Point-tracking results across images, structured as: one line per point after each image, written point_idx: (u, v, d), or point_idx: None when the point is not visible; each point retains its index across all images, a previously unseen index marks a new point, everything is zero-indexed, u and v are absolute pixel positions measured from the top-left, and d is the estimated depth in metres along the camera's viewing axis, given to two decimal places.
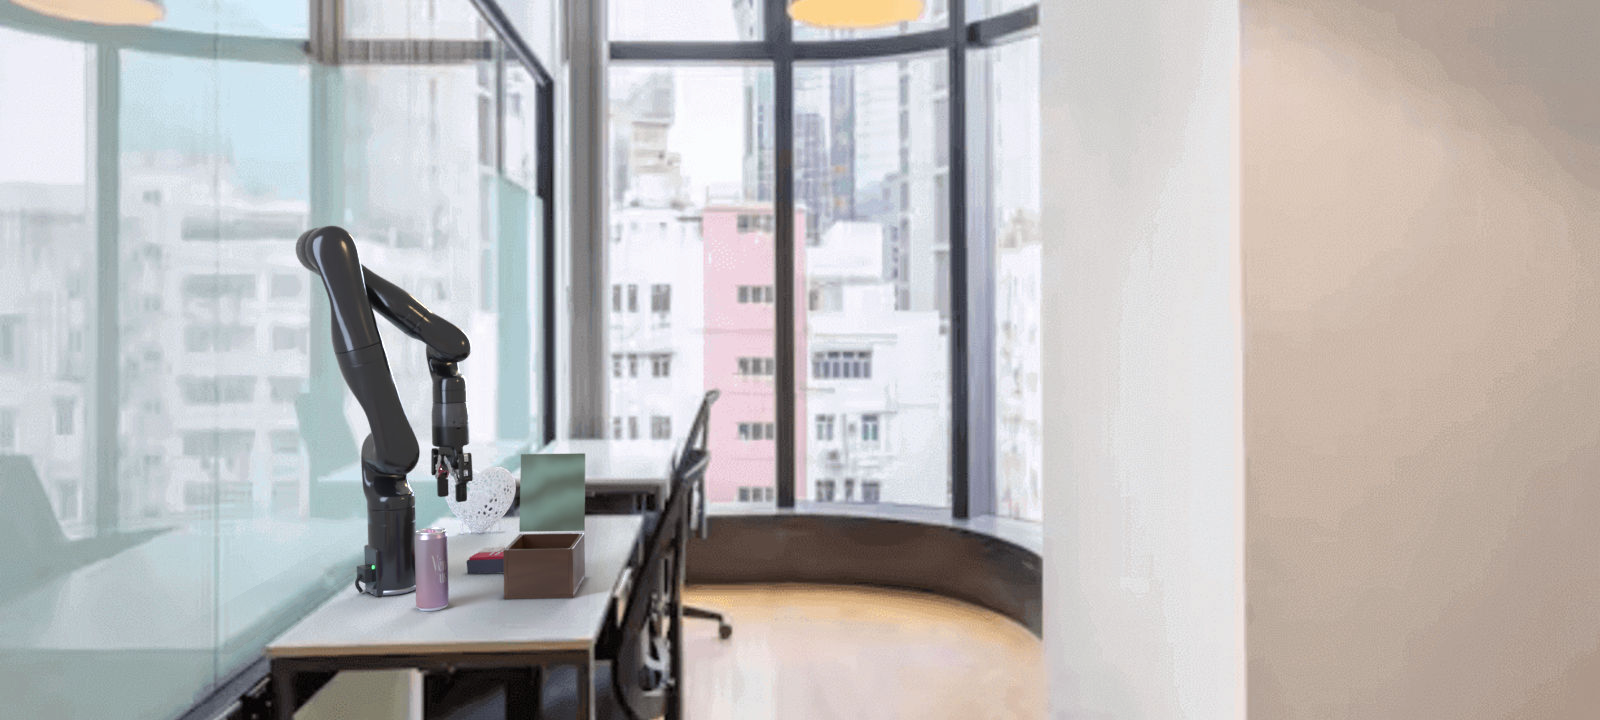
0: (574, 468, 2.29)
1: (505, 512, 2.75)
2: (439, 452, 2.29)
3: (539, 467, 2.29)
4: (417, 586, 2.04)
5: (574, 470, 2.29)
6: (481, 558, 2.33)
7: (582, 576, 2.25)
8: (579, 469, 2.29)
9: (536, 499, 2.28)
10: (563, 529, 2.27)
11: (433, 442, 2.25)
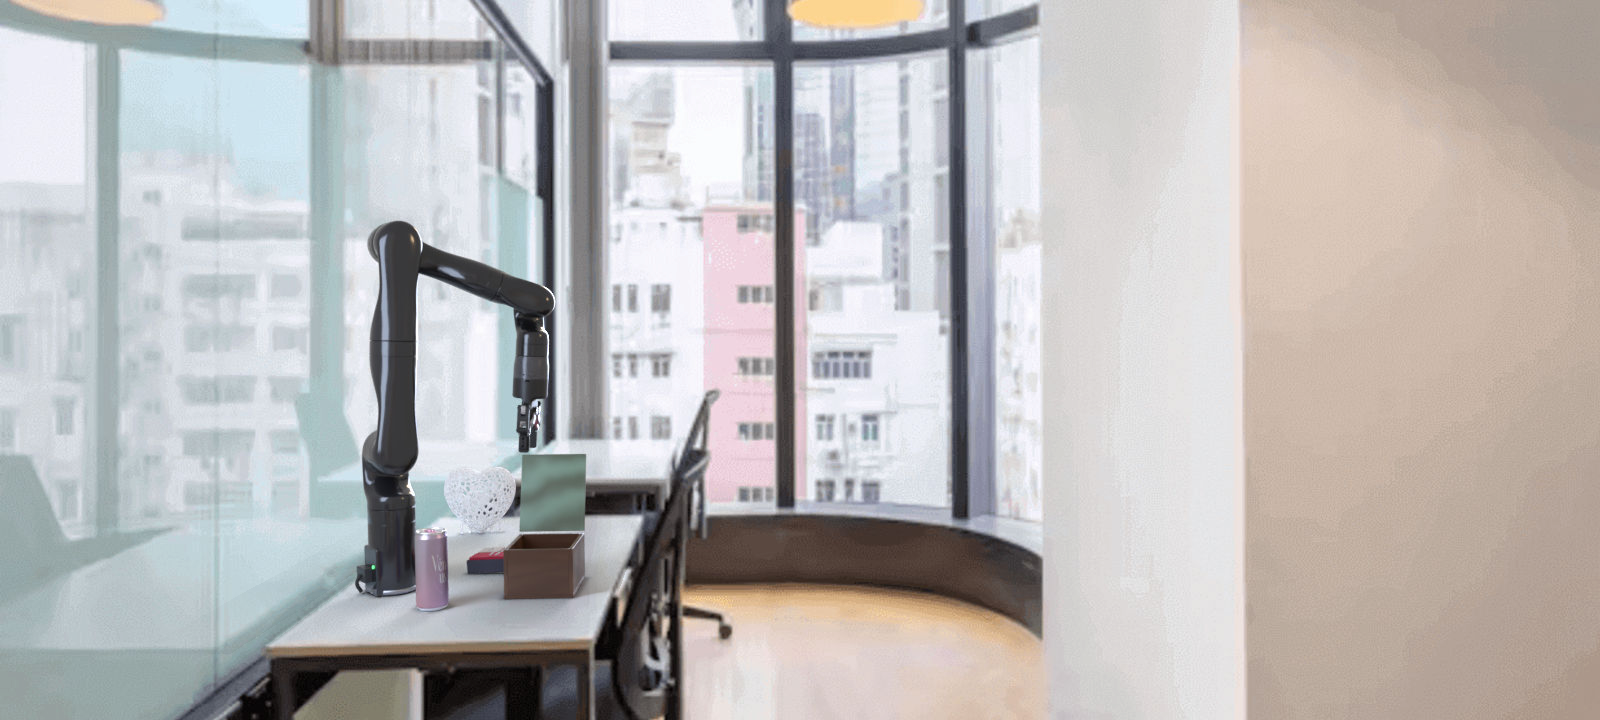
0: (575, 468, 2.30)
1: (505, 512, 2.75)
2: None
3: (540, 467, 2.30)
4: (417, 586, 2.04)
5: (575, 470, 2.30)
6: (481, 558, 2.33)
7: (582, 576, 2.25)
8: (580, 469, 2.30)
9: (536, 499, 2.28)
10: (563, 529, 2.27)
11: None
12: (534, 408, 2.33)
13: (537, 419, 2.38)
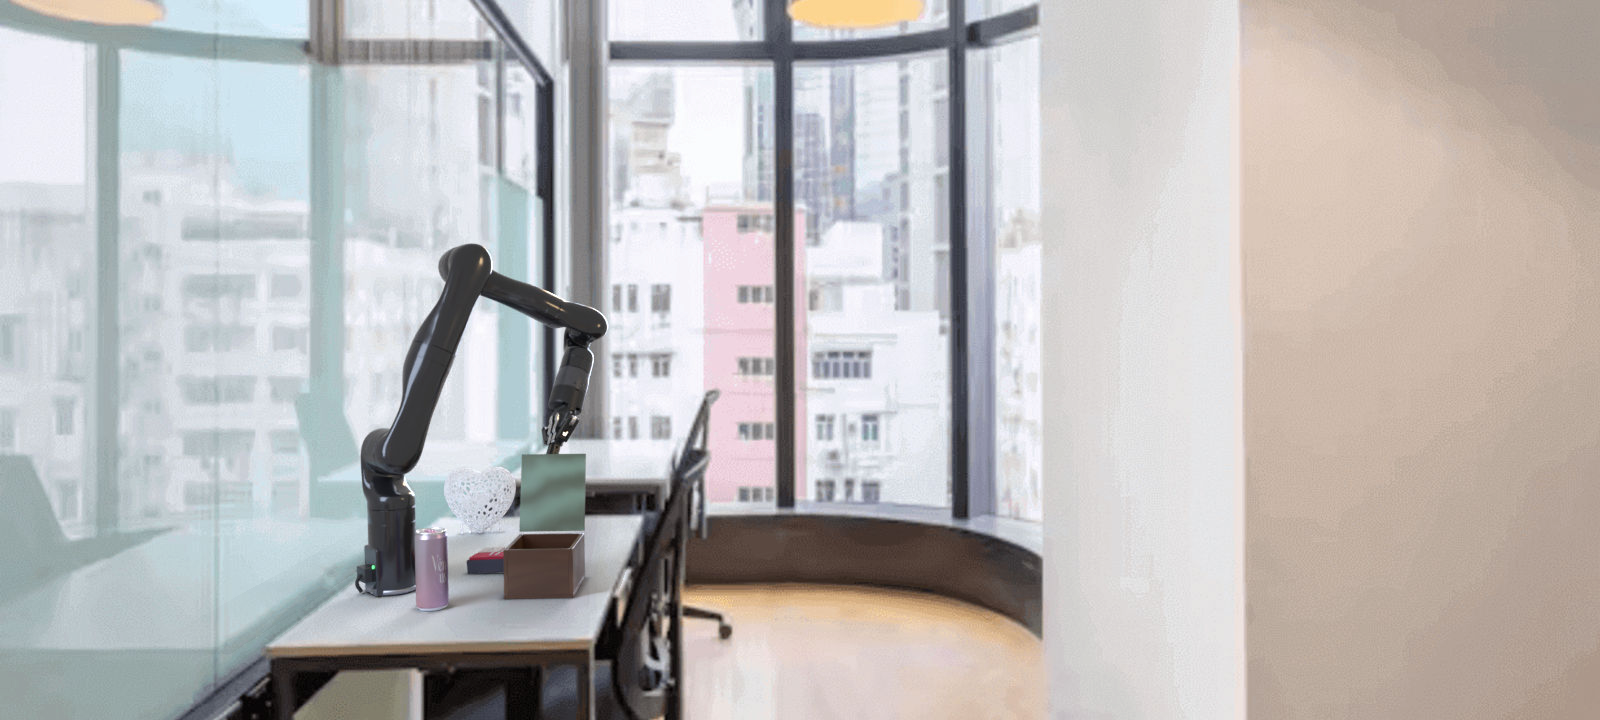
0: (575, 468, 2.30)
1: (505, 512, 2.75)
2: None
3: (540, 467, 2.29)
4: (417, 586, 2.04)
5: (575, 470, 2.30)
6: (481, 558, 2.33)
7: (582, 576, 2.25)
8: (580, 469, 2.30)
9: (536, 499, 2.28)
10: (563, 529, 2.27)
11: (550, 399, 2.36)
12: None
13: None
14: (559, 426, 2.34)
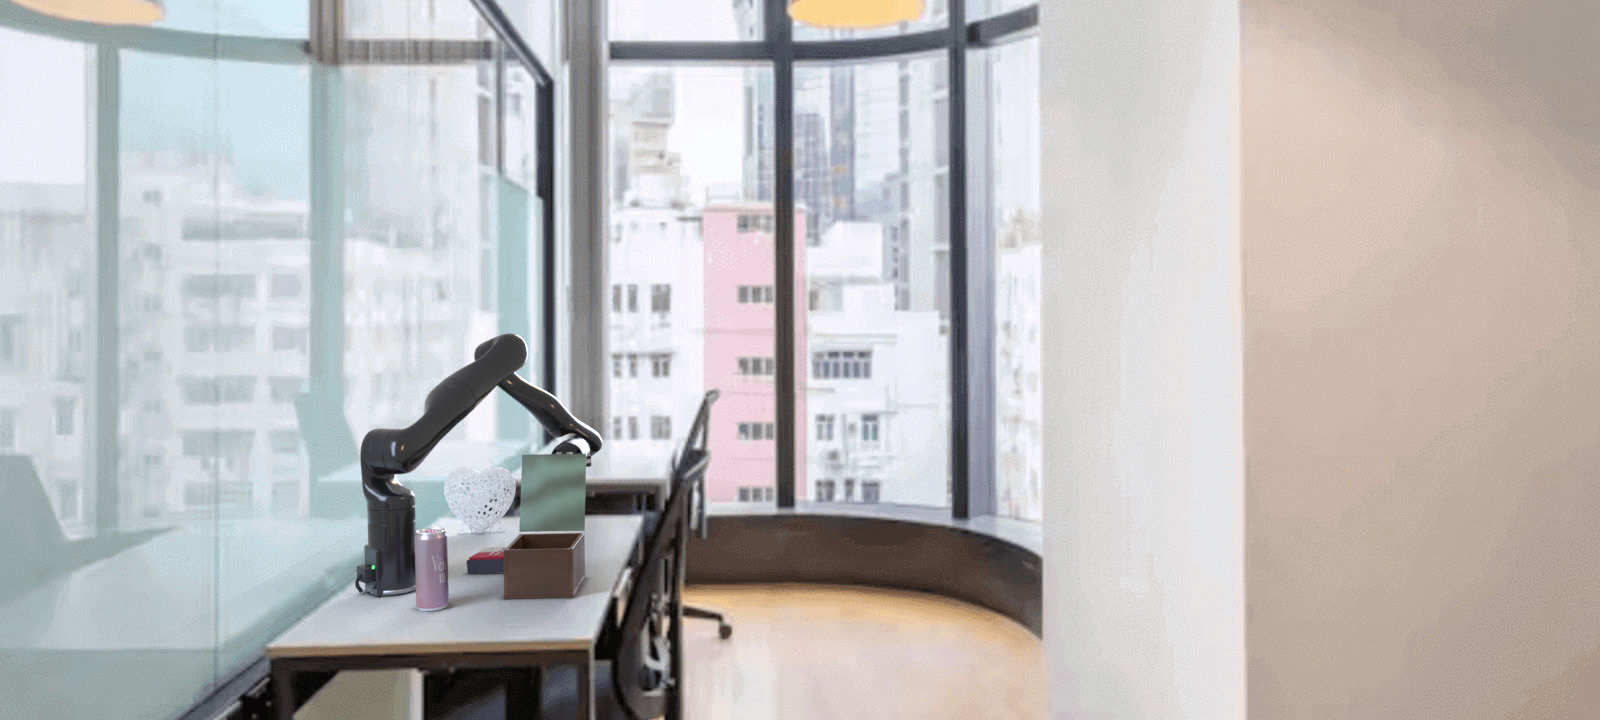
0: (575, 468, 2.30)
1: (505, 512, 2.75)
2: None
3: (540, 467, 2.30)
4: (417, 586, 2.04)
5: (575, 470, 2.30)
6: (481, 558, 2.33)
7: (582, 576, 2.25)
8: (580, 469, 2.30)
9: (536, 499, 2.28)
10: (563, 529, 2.27)
11: (565, 442, 2.48)
12: None
13: None
14: None
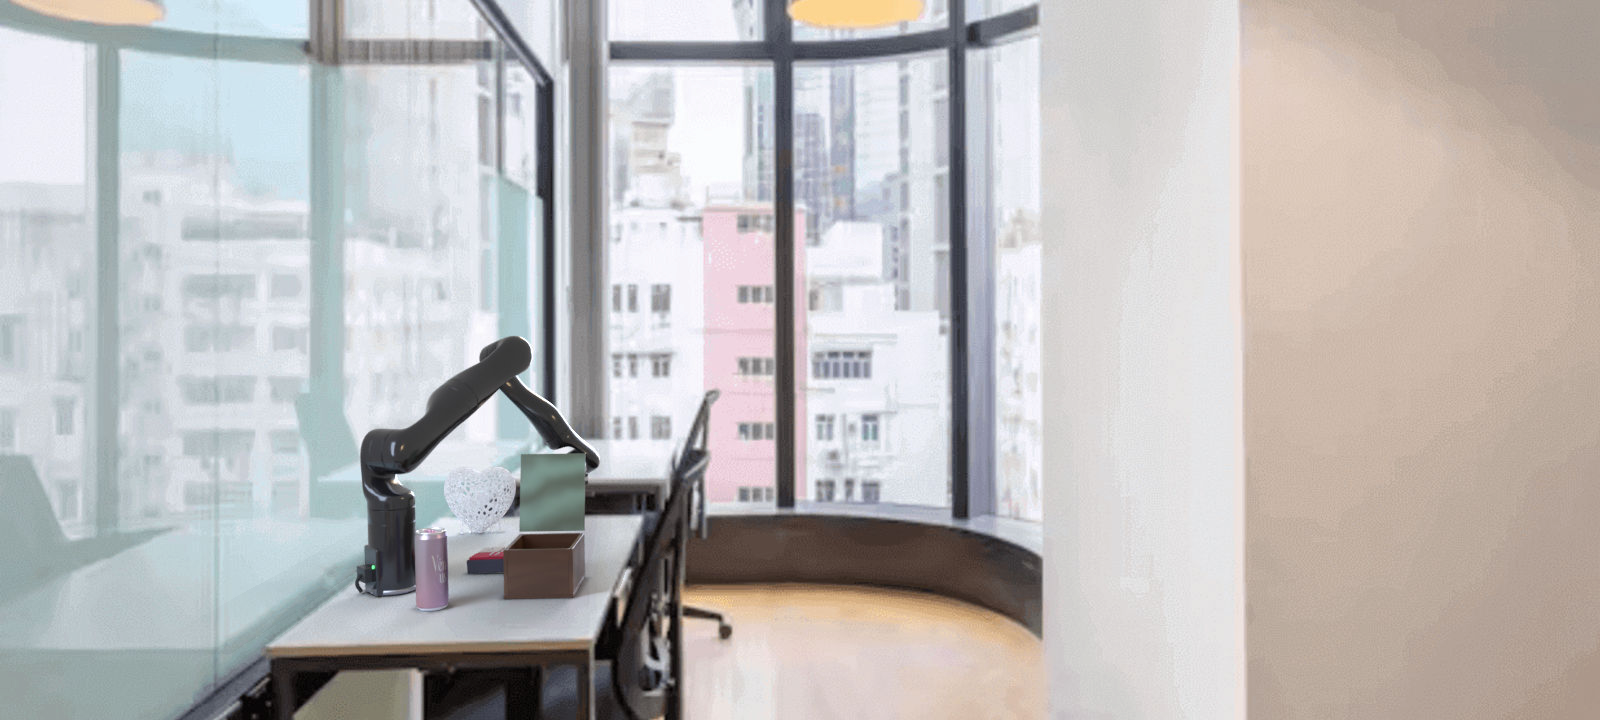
0: (574, 468, 2.29)
1: (505, 512, 2.75)
2: None
3: (539, 467, 2.29)
4: (417, 586, 2.04)
5: (574, 470, 2.29)
6: (481, 558, 2.33)
7: (582, 576, 2.25)
8: (579, 469, 2.29)
9: (536, 499, 2.28)
10: (563, 529, 2.27)
11: None
12: None
13: None
14: None
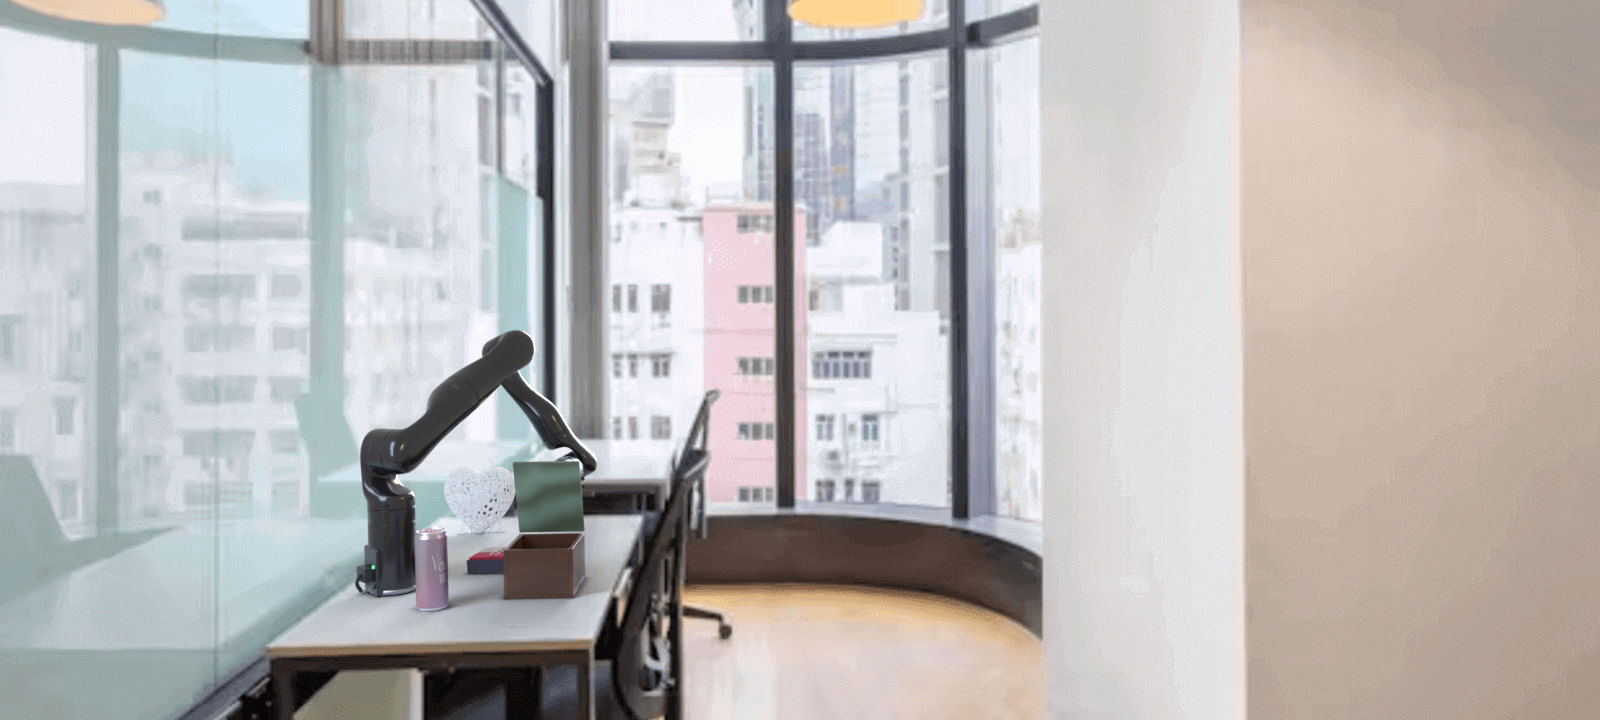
0: (569, 476, 2.22)
1: (505, 512, 2.75)
2: None
3: (533, 475, 2.22)
4: (417, 586, 2.04)
5: (569, 478, 2.23)
6: (481, 558, 2.33)
7: (582, 576, 2.25)
8: (574, 477, 2.23)
9: (533, 504, 2.24)
10: (563, 530, 2.27)
11: None
12: None
13: None
14: None
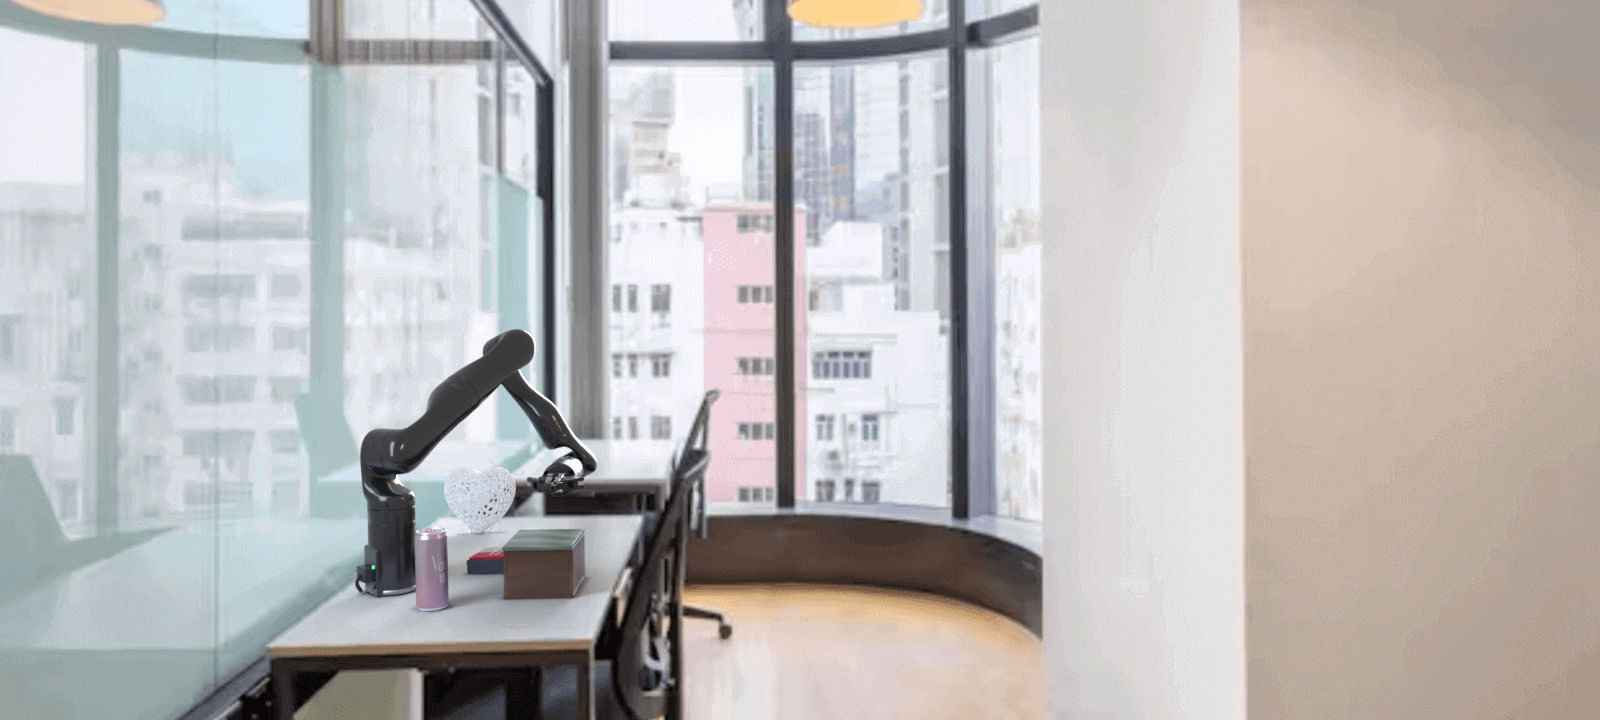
0: None
1: (505, 512, 2.75)
2: (542, 476, 2.34)
3: None
4: (417, 586, 2.04)
5: None
6: (481, 558, 2.33)
7: (582, 576, 2.25)
8: None
9: None
10: None
11: (557, 462, 2.37)
12: None
13: None
14: (563, 479, 2.31)
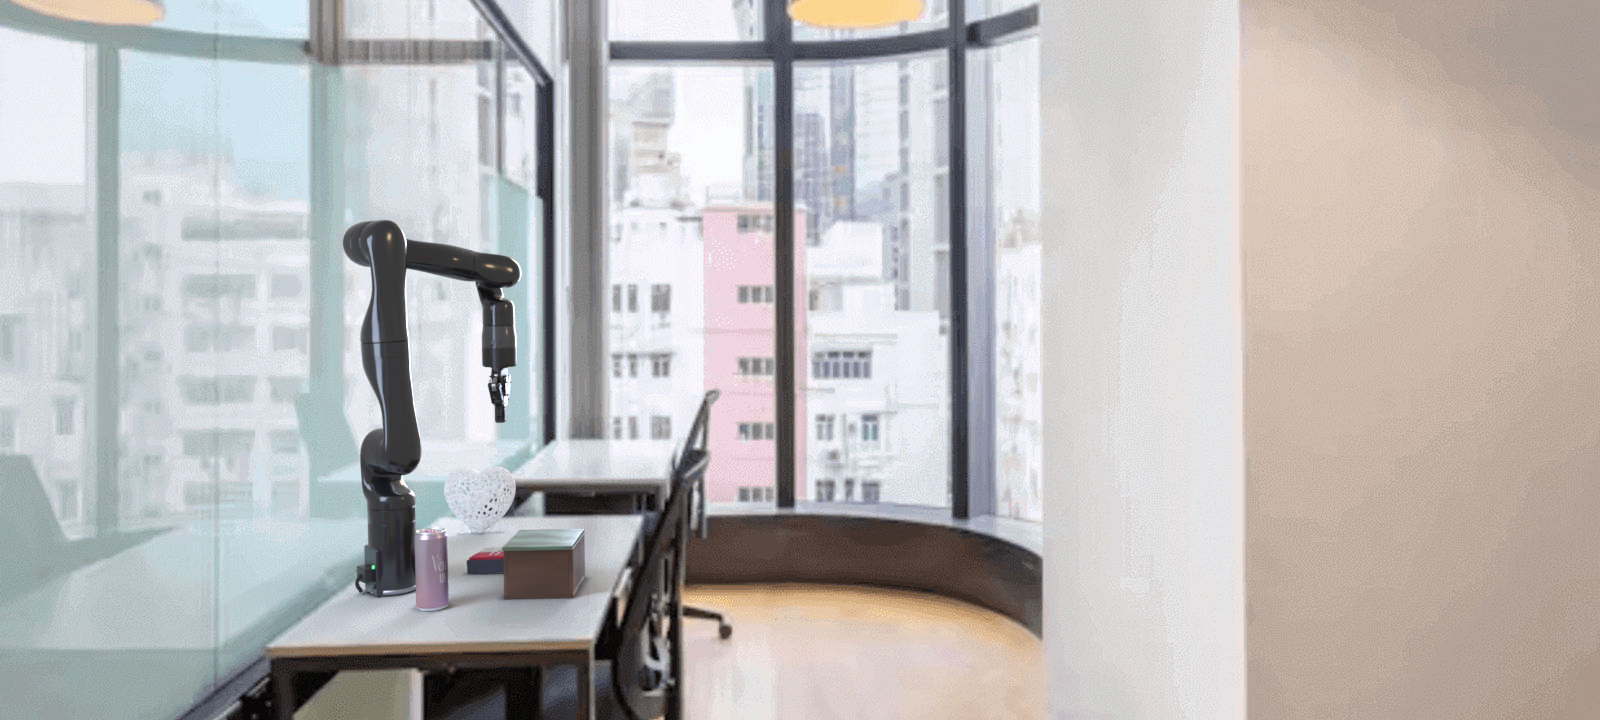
0: None
1: (505, 512, 2.75)
2: (501, 375, 2.38)
3: None
4: (417, 586, 2.04)
5: None
6: (481, 558, 2.33)
7: (582, 576, 2.25)
8: None
9: None
10: None
11: (515, 362, 2.41)
12: None
13: None
14: None
